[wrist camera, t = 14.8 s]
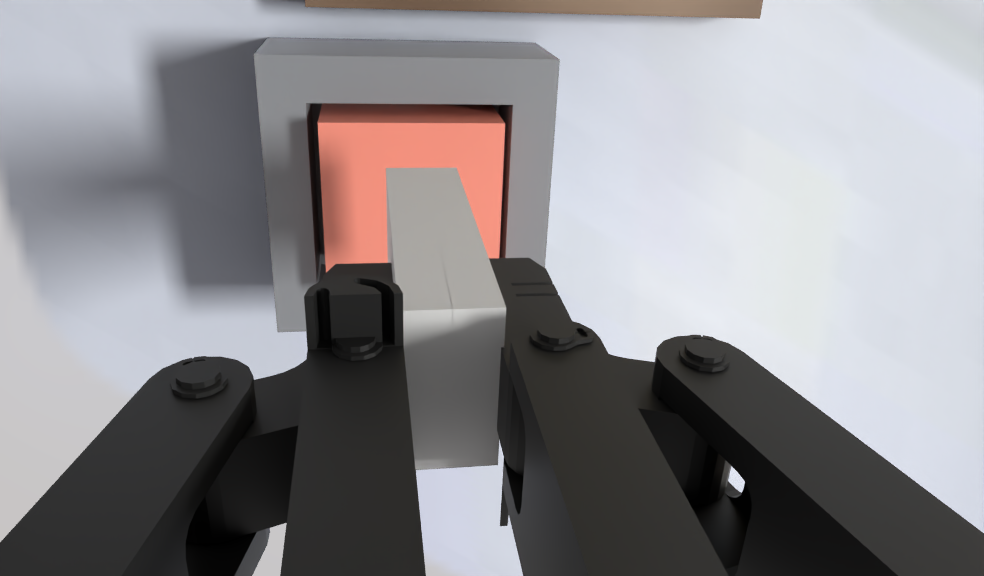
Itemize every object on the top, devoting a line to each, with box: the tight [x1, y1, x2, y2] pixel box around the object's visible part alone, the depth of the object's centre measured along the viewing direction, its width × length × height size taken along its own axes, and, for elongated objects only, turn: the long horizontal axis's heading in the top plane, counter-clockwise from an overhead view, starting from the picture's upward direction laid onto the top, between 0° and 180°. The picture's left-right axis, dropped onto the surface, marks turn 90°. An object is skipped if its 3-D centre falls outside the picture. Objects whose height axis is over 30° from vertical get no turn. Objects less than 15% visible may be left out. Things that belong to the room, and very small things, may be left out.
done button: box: [318, 103, 505, 272], centre depth 20 cm, size 4×4×2 cm
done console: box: [254, 38, 560, 332], centre depth 21 cm, size 7×7×3 cm
